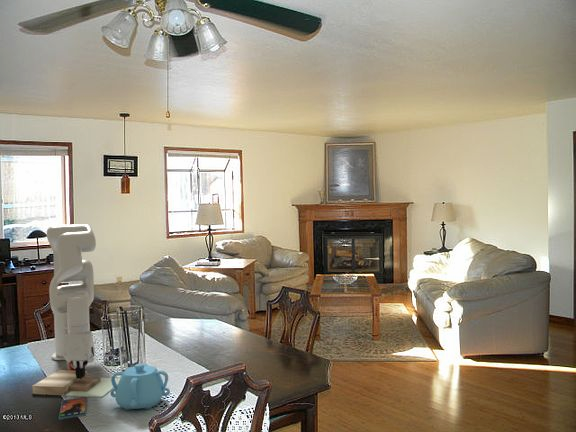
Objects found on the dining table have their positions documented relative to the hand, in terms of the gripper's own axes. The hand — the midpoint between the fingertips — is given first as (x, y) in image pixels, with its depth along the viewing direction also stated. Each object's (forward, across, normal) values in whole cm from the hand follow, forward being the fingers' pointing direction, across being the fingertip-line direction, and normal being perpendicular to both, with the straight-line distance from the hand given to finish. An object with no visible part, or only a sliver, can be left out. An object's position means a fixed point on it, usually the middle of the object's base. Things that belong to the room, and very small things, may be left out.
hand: (80, 377), depth 188 cm
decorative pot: (+4, +29, -12) cm, 32 cm away
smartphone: (+4, +8, -18) cm, 20 cm away
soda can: (+4, -12, +17) cm, 21 cm away
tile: (+3, +2, 0) cm, 4 cm away
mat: (+4, +6, 0) cm, 7 cm away
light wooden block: (+4, -8, 0) cm, 9 cm away
